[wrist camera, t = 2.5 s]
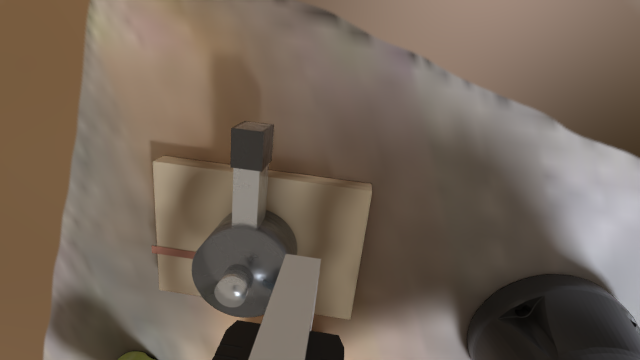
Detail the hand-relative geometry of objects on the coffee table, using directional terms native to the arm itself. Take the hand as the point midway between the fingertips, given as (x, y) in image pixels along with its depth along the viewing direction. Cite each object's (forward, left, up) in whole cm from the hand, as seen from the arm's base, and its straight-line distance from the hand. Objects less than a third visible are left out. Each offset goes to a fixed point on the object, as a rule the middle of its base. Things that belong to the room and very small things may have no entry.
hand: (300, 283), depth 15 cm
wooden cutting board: (+6, +8, -18) cm, 21 cm away
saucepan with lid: (+6, +4, -16) cm, 17 cm away
